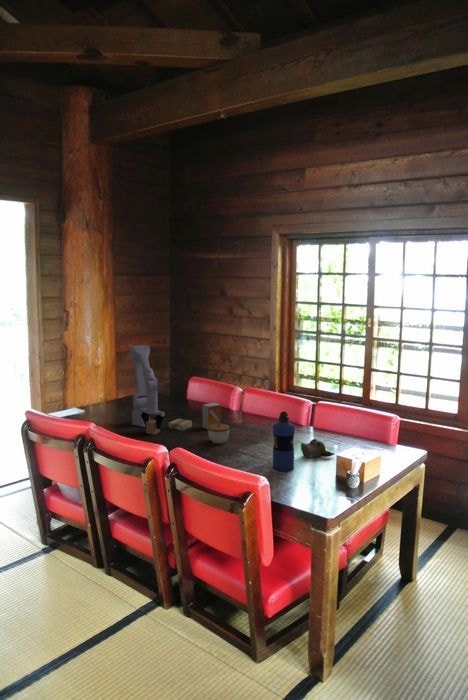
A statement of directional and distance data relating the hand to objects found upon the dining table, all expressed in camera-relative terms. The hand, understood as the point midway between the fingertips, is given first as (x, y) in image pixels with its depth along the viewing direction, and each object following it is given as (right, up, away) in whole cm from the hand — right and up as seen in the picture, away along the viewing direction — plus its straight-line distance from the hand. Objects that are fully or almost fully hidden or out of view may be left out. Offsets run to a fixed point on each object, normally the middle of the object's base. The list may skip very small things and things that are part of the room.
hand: (152, 427), depth 279 cm
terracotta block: (0, -3, 0) cm, 3 cm away
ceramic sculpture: (+80, -8, -35) cm, 88 cm away
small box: (+31, -2, +9) cm, 32 cm away
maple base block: (+14, -2, +10) cm, 17 cm away
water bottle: (+64, -10, -50) cm, 82 cm away
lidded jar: (+35, -5, -14) cm, 38 cm away
